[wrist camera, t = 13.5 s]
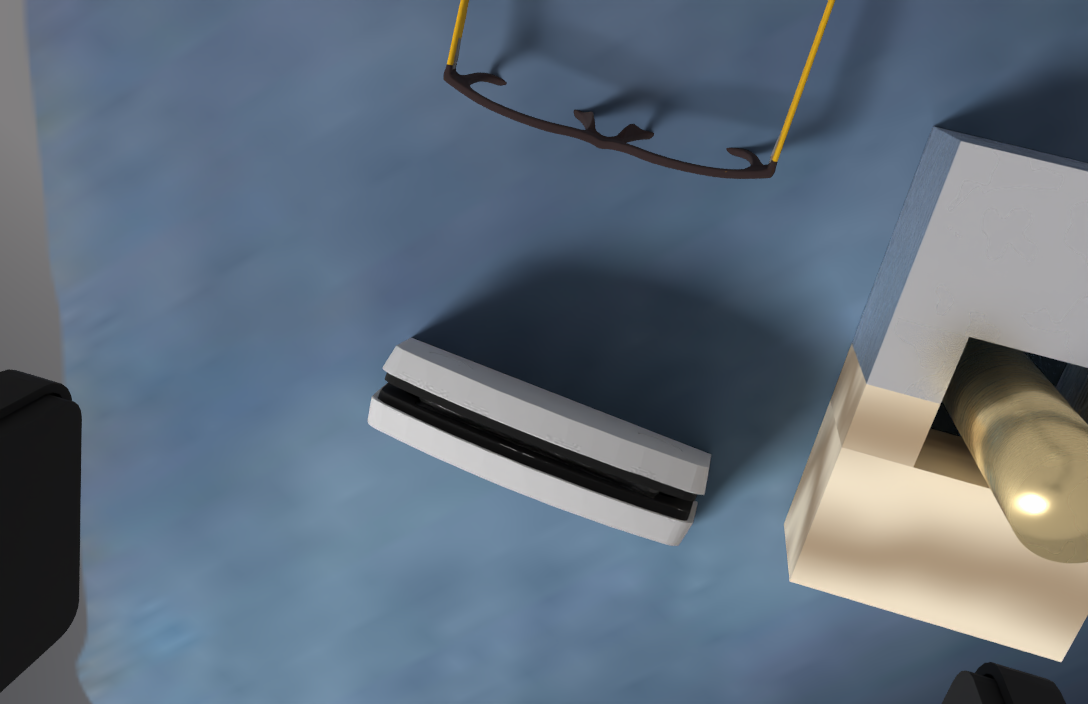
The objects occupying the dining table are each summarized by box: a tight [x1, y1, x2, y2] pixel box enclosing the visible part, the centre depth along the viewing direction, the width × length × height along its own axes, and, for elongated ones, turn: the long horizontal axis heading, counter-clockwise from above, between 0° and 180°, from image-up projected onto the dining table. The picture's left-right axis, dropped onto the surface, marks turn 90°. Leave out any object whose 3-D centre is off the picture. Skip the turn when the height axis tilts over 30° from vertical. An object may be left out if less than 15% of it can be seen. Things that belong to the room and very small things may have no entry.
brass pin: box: [942, 338, 1088, 563], centre depth 35 cm, size 4×4×12 cm
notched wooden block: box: [784, 344, 1088, 662], centre depth 40 cm, size 10×12×5 cm
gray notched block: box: [852, 126, 1088, 425], centre depth 36 cm, size 10×12×5 cm
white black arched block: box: [368, 338, 711, 546], centre depth 42 cm, size 17×5×10 cm, turn 72°
